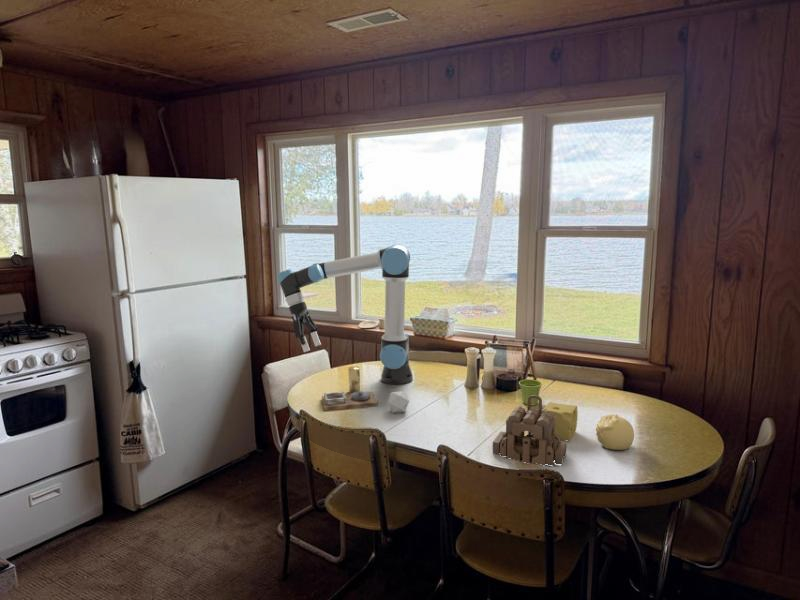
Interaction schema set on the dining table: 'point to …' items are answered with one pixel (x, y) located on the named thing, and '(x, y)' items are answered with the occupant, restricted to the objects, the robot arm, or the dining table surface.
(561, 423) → the cheese
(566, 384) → the dining table surface
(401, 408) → the die
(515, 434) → the wooden puzzle
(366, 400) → the gear board
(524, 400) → the plant pot
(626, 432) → the sculpture
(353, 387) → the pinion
